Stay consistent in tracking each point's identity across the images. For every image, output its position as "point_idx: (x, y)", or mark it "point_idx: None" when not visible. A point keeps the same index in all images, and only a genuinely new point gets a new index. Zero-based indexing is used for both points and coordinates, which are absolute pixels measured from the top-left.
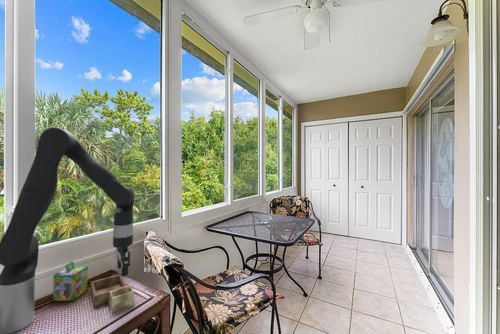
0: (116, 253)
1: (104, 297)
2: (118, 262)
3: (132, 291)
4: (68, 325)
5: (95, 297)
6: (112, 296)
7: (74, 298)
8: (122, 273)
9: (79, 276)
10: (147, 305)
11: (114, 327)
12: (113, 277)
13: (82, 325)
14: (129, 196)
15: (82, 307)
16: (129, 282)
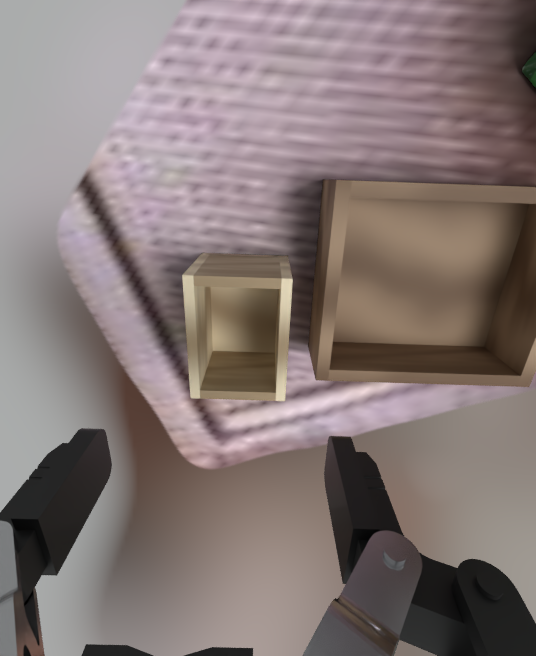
0: (515, 639)
1: (325, 243)
2: (344, 501)
3: (193, 392)
4: (230, 5)
5: (333, 186)
6: (208, 281)
7: (532, 66)
8: (67, 452)
9: None
10: (162, 400)
11: (64, 238)
12: (528, 342)
13: (177, 89)
14: None
15: (385, 114)
16: (455, 393)
